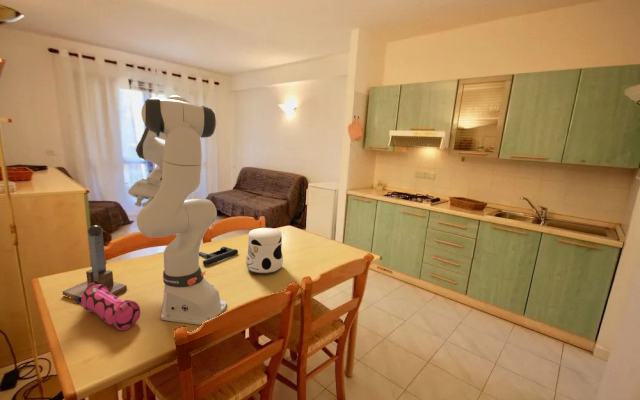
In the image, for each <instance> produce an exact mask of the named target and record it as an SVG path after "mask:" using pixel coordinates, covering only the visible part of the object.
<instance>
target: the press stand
mask: <svg viewBox="0 0 640 400" xmlns="http://www.w3.org/2000/svg"><path fill="white" fill-rule="evenodd" d="M85 273H86V281H84V282H82V283H79V284H76V285H74V286H72V287H70V288H67V289H65V290H63V291H62V296H63V295H65V296H67V297H71V298H73V299H75V298H79V297H82V295H83V294H84V292H85V291H86V290H87V289H89V288H88V286H87V285H88V284H90V283H93V282H94V283H95V285H96V284H100V285H104V286H106V287H107V289H108V291H109V293H111V294H113V295H115V296H116V297H117V295H118V296H119V295H120V294H122V293H124V292H126V291H127V290H128V287H127V284H123V283H119V282H117V281H116V282H115V281H114V274H113V270H109V269H108V270H106V271H105V272H103V273H101V274H98V281H99V282H96V281H93V274H92V268H91V269H90V270H87V271H86V272H85ZM67 297H66V298H67ZM73 299H72V300H73Z"/></svg>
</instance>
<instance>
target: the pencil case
mask: <svg viewBox="0 0 640 400" xmlns="http://www.w3.org/2000/svg"><path fill="white" fill-rule="evenodd" d="M87 286H88V288H89V289H87V290H86V291H85V292H84V294H83V295H82V297H79V298H75V300H74V301H75V305H78V304H81V306H82V308H83V309H84V310H85V311H88V312H91V313H95V314H96V316H97V317H98V318H99V319H101V320H102V321H103V322H105V323H106V324H108V325H111V326H112V327H115V328H116V329H117V330H118V331H126V330H128V329H130V328H131V327H133V326H134V325H135V324H136V323H137V322H138V320H139V319H140V316H141V308H140V306H139V304H138V302H136V301H134V300H131V299H130V300H129V299H121V298H119V297H118V296H117V295H116V296H115V295H113V294H111V293H109V291H108V289H107V287H106V286H104V285H100V284H96V285H95V283H94V282H93V283H90V284H88V285H87Z"/></svg>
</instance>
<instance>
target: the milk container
mask: <svg viewBox="0 0 640 400" xmlns="http://www.w3.org/2000/svg"><path fill="white" fill-rule="evenodd" d="M282 239H283V238H282V231H280V230H279V229H276V228H272V227H259V228H254V229H251V230H250V231H249V232H248V235H247V247H248V248H247V254H246V257H245V264H246V267H247V269H248V270H249V272H251V273H255V274H261V275H262V274H263V275H266V274H267V275H268V274H272V273H275V272H278V271H279V270H280V269H281V267H282V266H283V263H284V262H283V261H284V255H283V253H282V243H283V242H282Z"/></svg>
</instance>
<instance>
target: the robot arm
mask: <svg viewBox="0 0 640 400" xmlns="http://www.w3.org/2000/svg"><path fill="white" fill-rule="evenodd" d="M140 113H141V118H142V122H143V123H144V126H145V129H144V130H143V133H142V135H141V137H140V140H139V141H138V143H137V145H136V148H135V153H136V155H137V156H138V158H140V159H142V160H145V161H147V162H150V163H151V164H154V165H156V166H155V168H153V169H152V170H151V171H150V173H149V175H148V176H147V177H146V178H142V179H140V180H137V181H136V182H134V183H133V184H132V186H131V187H130V188H129V189H128V191H127V193H128V194H129V195H130V196H131V197H133V198H136V202H135V204H134V206H135V207H138V208H139V207H141V206H142V208H140V210H139V212H138V214H137V216H136V226H137V229H138V230H139V232H140V233H141V234H142V235H143V236H144V237H146V238H166V237H169V236H174V235H176V236H175V238H174V239H173V240H172V241H171V242H170V243H168V245H166V247H165V248H164V251H163V271H162V281H163V283H164V288H163V297H162V304H161V307H160V312H161V315H160V316H161V317H160V319H161V320H162V321H168V322H175V323H181V324H182V323H183V324H192V325H197V326H198V325H199V326H202V325H201V324H202V323H203V322H205V321H207V320H210V319H212V318H214V317H216V316H218V315H219V314H220V315H221V314H222V313H223V312H224V311H225V310H226V308H227V300H223V299H221V296H220V293H219V291H218V289H217V288H216V287H215V285H213V284H211V282H209V281H208V280H207V279H205V277H204V276H205V275H206V272H207V271H206V270H205V271H203V272H202V268H201V266H200V255H199V252H200V247H201V244H202V241H203V238H204V235H206V232H207V230H208V229H209V228H210V227H211V226H212V225H213V224H214V223H215V221H216V219H217V217H218V216H217V215H218V213H217V212H218V210H217V208H216V206H215V204H214V203H213V201H212V200H210V199H206V198H189V199H188V196H190V194H192V193H193V192H195V191H196V190H197V189H198V188H199V186H200V183H201V172H202V158H203V157H202V143H201V142H202V141H201V139H203V138H210V137H211V136H213V135H214V133H215V130H216V128H217V118H216V114H215V112H214V111H213V109H212V108H211V107H210V108H209V107H207V106H204V105H201V106H200V105H198V104H195V103H191V102H189V101H188V100H187V99H186V98H185V97H182V96H179V95H170V96H168V97H167V98H164V99H163V98H161V99H160V97H149V98H147V99H146V100H144V103H143V105H142V107H141V112H140ZM157 138H158V139H161V140H163V141H164V143H163V142H161V141H159V140H157ZM143 200H147V201H145V202H143ZM142 202H143V203H142ZM220 315H219V316H220ZM219 316H218V317H219ZM216 318H217V317H216Z"/></svg>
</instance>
